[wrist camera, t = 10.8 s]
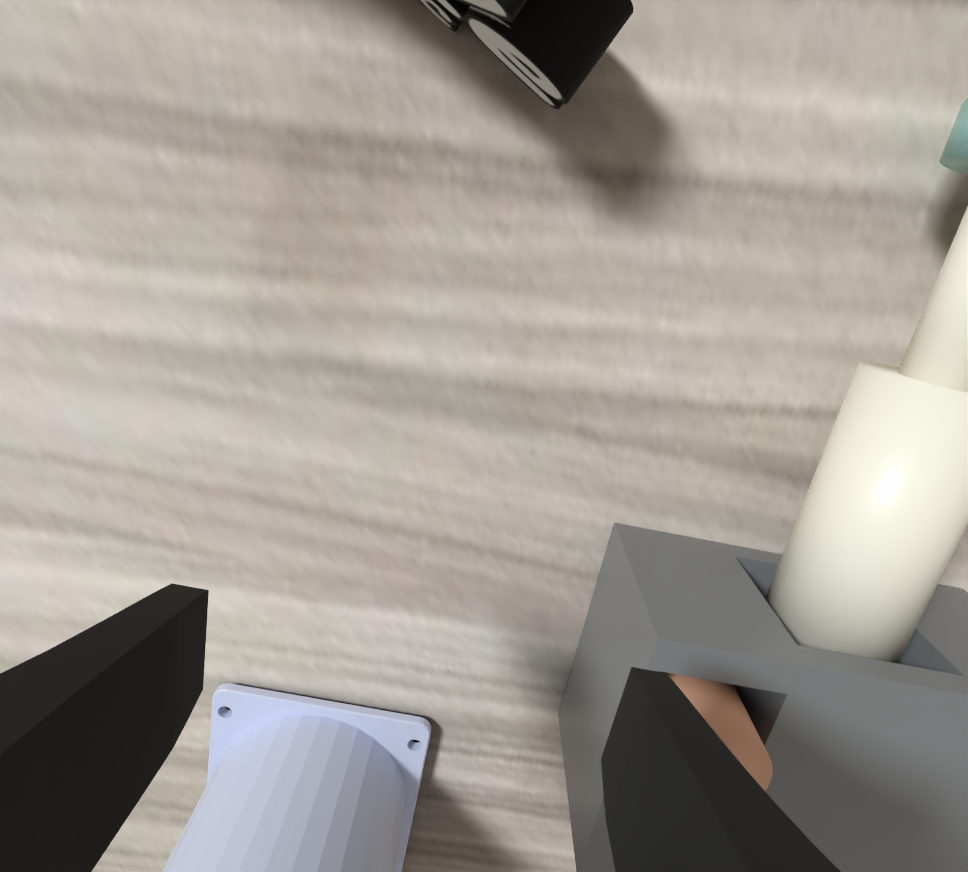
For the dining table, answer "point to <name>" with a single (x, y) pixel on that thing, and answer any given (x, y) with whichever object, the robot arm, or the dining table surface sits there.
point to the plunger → (729, 723)
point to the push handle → (888, 482)
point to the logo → (541, 37)
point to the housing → (781, 703)
